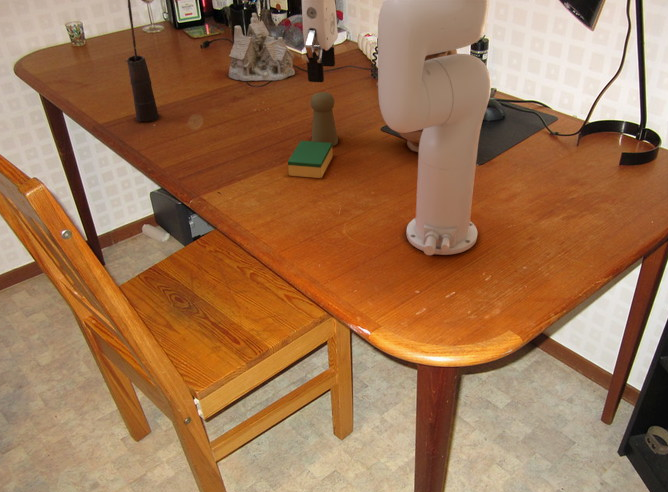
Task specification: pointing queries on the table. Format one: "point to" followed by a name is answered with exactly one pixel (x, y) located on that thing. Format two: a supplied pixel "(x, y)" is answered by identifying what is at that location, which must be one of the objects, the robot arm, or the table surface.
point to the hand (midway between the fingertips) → (322, 73)
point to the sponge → (310, 159)
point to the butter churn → (141, 83)
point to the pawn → (323, 118)
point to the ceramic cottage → (259, 55)
